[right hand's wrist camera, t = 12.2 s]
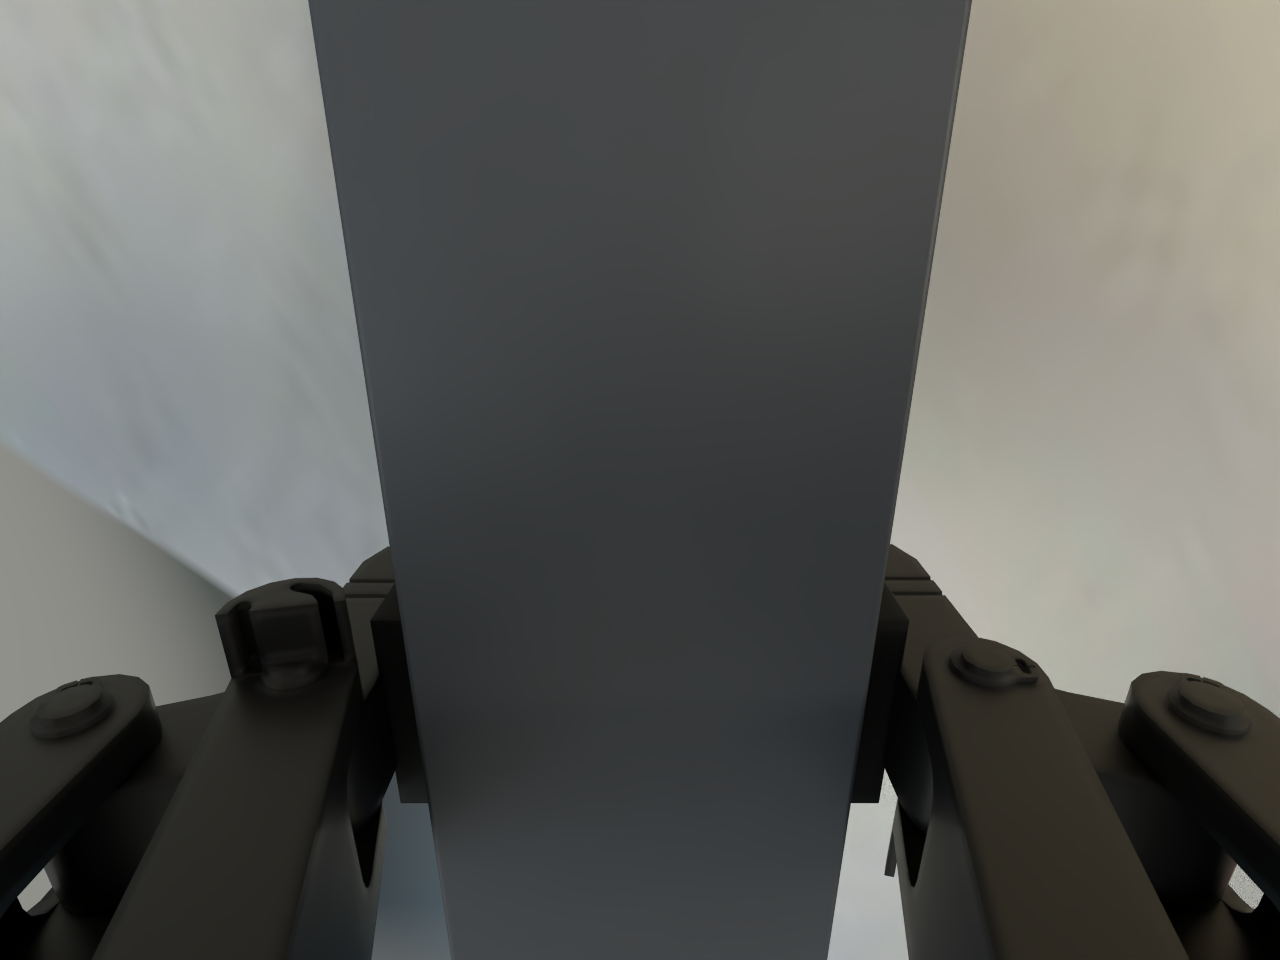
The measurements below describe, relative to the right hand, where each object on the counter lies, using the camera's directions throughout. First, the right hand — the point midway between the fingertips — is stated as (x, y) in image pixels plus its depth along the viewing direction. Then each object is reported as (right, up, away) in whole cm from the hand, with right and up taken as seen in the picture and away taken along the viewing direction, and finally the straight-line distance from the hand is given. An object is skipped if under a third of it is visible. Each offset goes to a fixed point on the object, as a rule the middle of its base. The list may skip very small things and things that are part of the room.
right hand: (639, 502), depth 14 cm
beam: (0, +29, -11) cm, 31 cm away
